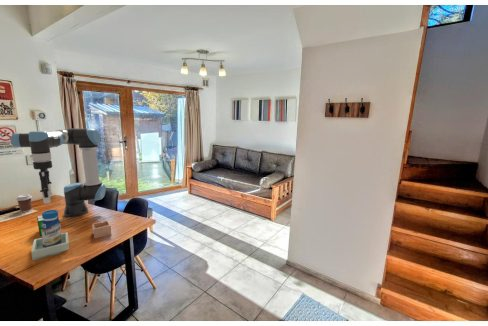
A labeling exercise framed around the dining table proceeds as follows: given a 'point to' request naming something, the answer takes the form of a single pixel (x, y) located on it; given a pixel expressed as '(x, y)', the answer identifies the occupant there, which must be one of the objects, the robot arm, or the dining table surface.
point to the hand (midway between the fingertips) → (48, 199)
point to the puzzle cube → (40, 219)
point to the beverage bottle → (51, 228)
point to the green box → (49, 248)
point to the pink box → (101, 229)
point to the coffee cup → (24, 202)
